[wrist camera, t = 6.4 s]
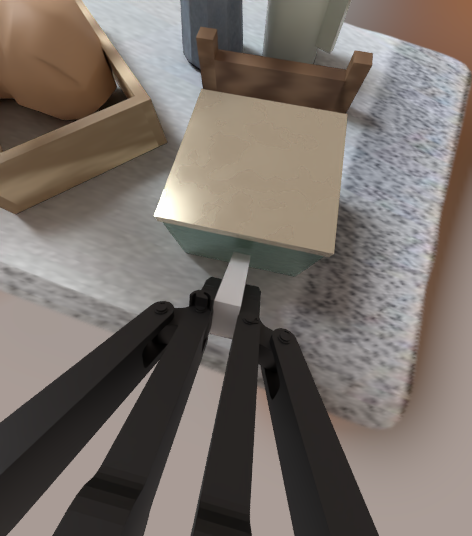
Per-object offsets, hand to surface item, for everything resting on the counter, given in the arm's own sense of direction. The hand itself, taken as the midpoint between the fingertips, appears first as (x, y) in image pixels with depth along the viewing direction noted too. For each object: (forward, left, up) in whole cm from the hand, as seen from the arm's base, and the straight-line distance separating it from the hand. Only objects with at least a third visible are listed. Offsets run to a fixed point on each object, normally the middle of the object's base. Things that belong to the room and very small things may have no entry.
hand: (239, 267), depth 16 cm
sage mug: (-24, +25, -4) cm, 35 cm away
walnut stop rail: (-19, +18, -3) cm, 26 cm away
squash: (-34, -8, -3) cm, 35 cm away
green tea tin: (-5, +5, -4) cm, 8 cm away
